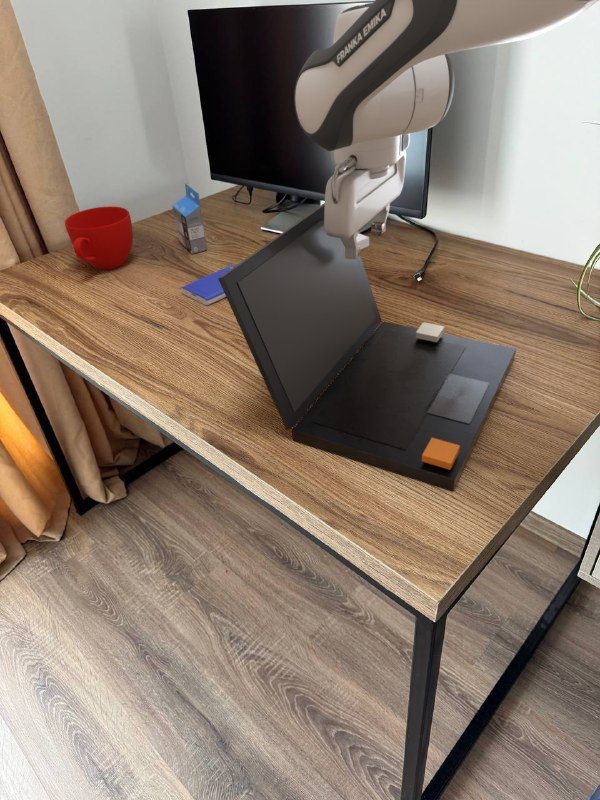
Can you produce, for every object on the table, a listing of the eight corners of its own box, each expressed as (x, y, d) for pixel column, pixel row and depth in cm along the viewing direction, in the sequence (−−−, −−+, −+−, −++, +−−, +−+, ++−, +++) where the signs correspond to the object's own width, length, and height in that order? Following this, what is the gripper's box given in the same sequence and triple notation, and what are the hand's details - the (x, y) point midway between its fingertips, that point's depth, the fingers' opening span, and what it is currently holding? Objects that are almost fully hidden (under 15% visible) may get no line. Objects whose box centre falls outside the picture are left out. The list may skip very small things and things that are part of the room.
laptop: (514, 358, 87) (516, 348, 86) (453, 491, 66) (454, 479, 65) (382, 331, 96) (382, 320, 95) (292, 440, 75) (291, 429, 74)
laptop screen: (340, 193, 86) (335, 195, 86) (223, 277, 65) (217, 278, 66) (382, 321, 95) (377, 322, 95) (291, 429, 74) (286, 429, 75)
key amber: (459, 451, 68) (460, 445, 68) (450, 470, 66) (451, 463, 65) (431, 443, 70) (431, 437, 69) (421, 461, 67) (421, 454, 67)
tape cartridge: (178, 241, 132) (167, 186, 125) (194, 237, 134) (185, 182, 126) (191, 254, 126) (181, 197, 119) (208, 250, 127) (199, 193, 120)
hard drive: (231, 264, 117) (180, 286, 110) (258, 274, 112) (206, 298, 106) (232, 271, 118) (181, 293, 111) (258, 282, 113) (207, 306, 106)
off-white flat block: (444, 331, 90) (444, 326, 89) (436, 342, 88) (437, 336, 87) (422, 327, 91) (423, 321, 91) (415, 337, 89) (415, 332, 88)
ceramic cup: (57, 284, 118) (41, 236, 112) (95, 250, 131) (82, 206, 125) (117, 285, 116) (103, 237, 110) (149, 251, 129) (139, 206, 123)
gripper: (355, 171, 71) (356, 276, 79) (414, 131, 85) (409, 224, 93) (309, 166, 73) (314, 269, 82) (374, 128, 87) (373, 219, 96)
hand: (365, 245), depth 87 cm, fingers open, 8 cm apart
